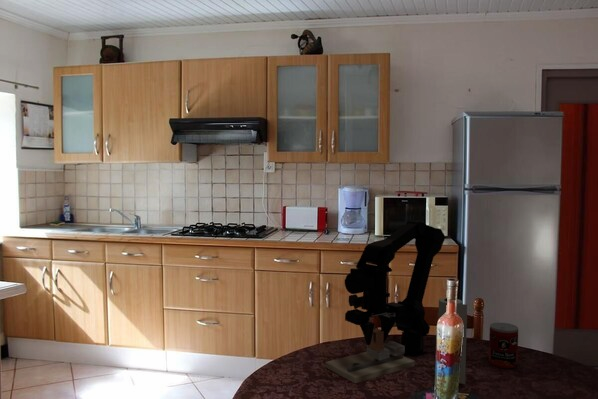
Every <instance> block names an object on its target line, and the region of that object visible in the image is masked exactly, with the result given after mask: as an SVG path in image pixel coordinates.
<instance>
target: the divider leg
mask: <svg viewBox="0 0 598 399" xmlns="http://www.w3.org/2000/svg"><path fill="white" fill-rule="evenodd" d="M384 342H385V341H384V331H382V330H381V328H377V327H376V328H374V329H373V335H372V340H371V344H370V345H368V346H367V347H366V352H367V355H368V356H370V357H372V358H374V360H383V359H386V358H389V356H390V350H388V349H386V348H384V347H383V343H384Z"/></svg>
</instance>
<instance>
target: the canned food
mask: <svg viewBox="0 0 598 399" xmlns="http://www.w3.org/2000/svg"><path fill="white" fill-rule="evenodd" d="M488 341H489V342H488V343H489V344H488V346H489V347H488V348H489V349H488V360H489V363H490V364H491V365H492V366H494V367H495V368H499V369H514V368H516V367H517V365H518V349H519V328H518V326H517V325H515V324H511V323H507V322H492V323H490V324H489V340H488Z"/></svg>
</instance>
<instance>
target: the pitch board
mask: <svg viewBox="0 0 598 399" xmlns="http://www.w3.org/2000/svg"><path fill="white" fill-rule="evenodd" d="M383 347H384V348H386V349H388V350H390V356H389V358H386V359H383V360H374V358H372V357H370V356H368V355H367V351H364V352H359V353H356V354H352V355H348V356H345V357H339V358H335V359H332V360H329V361H325V364H324V365H325V368H326V369H328V370H330V371H332V372H333V373H335V374H337V375H338V376H340V377H343V378H344V379H346V380H348V381H350V382H351V383H353V384H357V383H361V382H365V381H368V380H369V381H370V380H372V379H375V378H379V377H381V376H382V377H383V376H385V375H389V374H392V373H396V372H399V371H402V370H405V369H409V368H413V367H416V365H415V364H416V360H414V359H412V358H409V357H406V356H404V354H406V353H405V346H403V345H401V343H398V342H396V341H393V340H391V341H387V342H383Z"/></svg>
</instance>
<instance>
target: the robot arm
mask: <svg viewBox="0 0 598 399" xmlns="http://www.w3.org/2000/svg"><path fill="white" fill-rule="evenodd" d="M445 237H446V236H445V233H444V232H443V230H442V229H441V228H439V227H435V226H431V225H428V224H426V223H425V222H422V221H421V220H408V221H407V222H406V223H405V224H404V225H402V226H401V227H400V228H398V229H397V230H396V231H394V232H392V233H391V234H390V235H388V236H387V237H386V238H384V239H381V240H375V241H371V243H368V244H366V245H365V247H364V249H363V251H362V254H361V255H360V258H358V261H357V263H356V265H355V268H354V267H353V268H350V269H349V273H348V274H346V276H345V279H344V287H345V289H346V291H347V292H348V293H349V294H350V295H348V305H349V306H350V307H353V309H350V310H349V309H348V310H347V311H346V312H345V315H344V318H345V319H344V320H345V321H346V322H348V323H350V324H353V325H356V326H359V327H360V329H361V332H362V334H363V336H364V340H365V343H366V345H370V344H371V340H372V335H373V329H375V328H374V327H375V322H372V318H374V317H375V318H376V317H378V318H379V320H380V330H382V331H384V341H383V342H386V340H387V338H388V337H389V334H390V333H391V330H392V329H393V328H394V325H395V326H396V329H397V331H401V338H400V344H401V345H403V346H405V354H406V355H409V356H411V357H416V356H419V355H422V354H426V353H428V350H426V349H424V338H425V337H426V336H427V335H428V334H429V333H430V329H431V326H430V325H429V324H428V322H427V320H426V319H425V314H426V312H425V308H424V304H423V301H424V300H423V299H424V296H425V291H426V289H427V285H428V280H429V276H430V272H431V268H432V264H433V260H434V258H435V256H436V255H437V254H439V252H440V251H441V250H442V246H443V244H444V242H445V239H446V238H445ZM412 240H414V246H415V248H416V253H417V254H416V259H415V261H414V266H413V270H412V274H411V277H410V281H409V285H408V289H407V292H406V296H405V298H404V299H403V300H402V301H401V300H399V301H398V302H396V301H392V302H388V301H387V300H388V298H390V297H391V293H390V292H388V273H391V272H393V269H392V267H391V266H389V265H390V263H391V262H392V261H393V260H394V259H395V258H396V253H397V252H398V251H400V249H403V247H405V246H406V245H408V244H409V243H410V242H411V241H412ZM358 294H362V296H358ZM358 308H361V309H358ZM363 310H366V311H363Z"/></svg>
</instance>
